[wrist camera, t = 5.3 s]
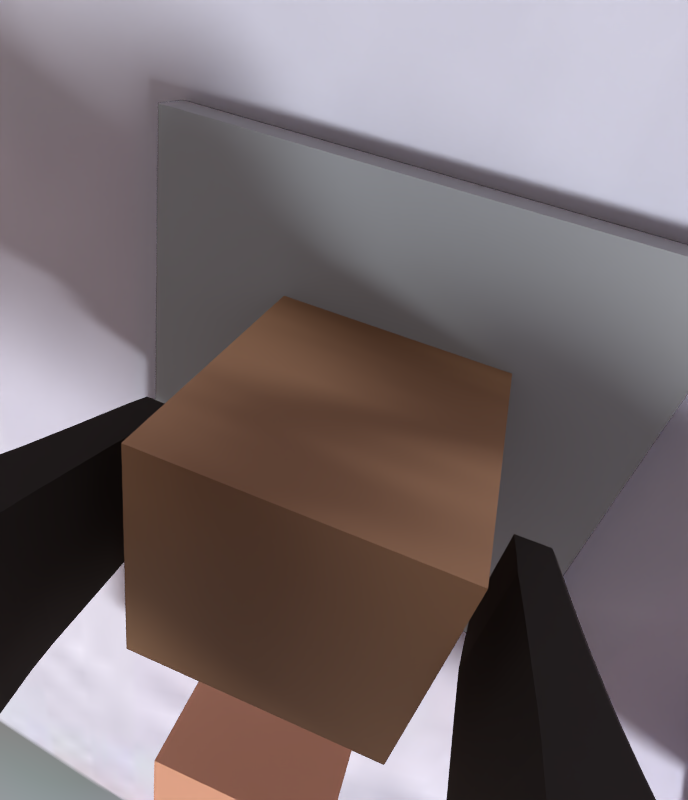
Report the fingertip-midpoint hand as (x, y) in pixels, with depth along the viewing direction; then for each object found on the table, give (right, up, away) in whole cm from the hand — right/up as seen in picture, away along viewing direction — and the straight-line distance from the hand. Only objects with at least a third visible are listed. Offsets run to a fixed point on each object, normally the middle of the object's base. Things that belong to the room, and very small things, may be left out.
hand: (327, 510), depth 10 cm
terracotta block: (-1, -7, +9) cm, 12 cm away
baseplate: (+1, +2, +3) cm, 3 cm away
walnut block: (+1, +1, +2) cm, 3 cm away
